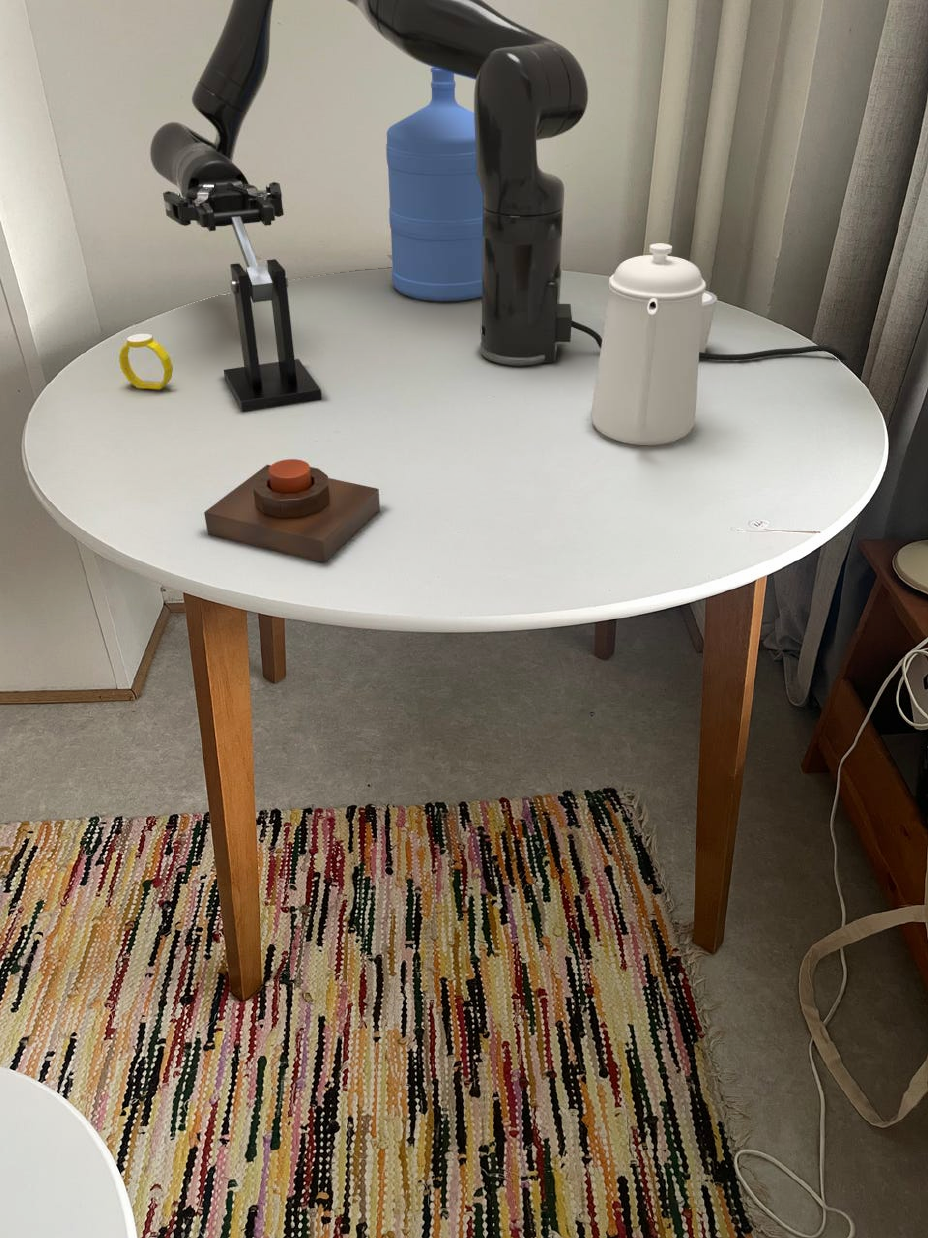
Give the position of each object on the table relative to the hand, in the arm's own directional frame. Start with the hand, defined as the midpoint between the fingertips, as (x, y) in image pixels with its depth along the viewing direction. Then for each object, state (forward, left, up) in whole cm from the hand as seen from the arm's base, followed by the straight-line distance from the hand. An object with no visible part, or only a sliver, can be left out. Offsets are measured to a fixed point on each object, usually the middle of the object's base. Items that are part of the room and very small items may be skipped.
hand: (239, 218), depth 110 cm
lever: (-1, +2, -4) cm, 5 cm away
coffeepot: (-45, +11, -17) cm, 50 cm away
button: (-14, +35, -14) cm, 40 cm away
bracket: (-3, +6, -17) cm, 19 cm away
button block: (-14, +35, -17) cm, 42 cm away
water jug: (-17, -34, -17) cm, 42 cm away
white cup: (-50, -12, -17) cm, 55 cm away
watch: (+11, +8, -17) cm, 22 cm away
